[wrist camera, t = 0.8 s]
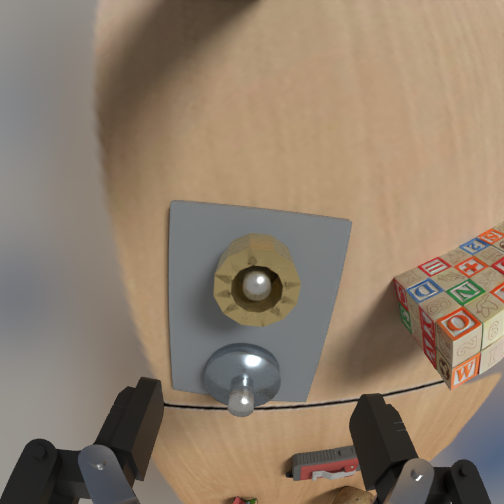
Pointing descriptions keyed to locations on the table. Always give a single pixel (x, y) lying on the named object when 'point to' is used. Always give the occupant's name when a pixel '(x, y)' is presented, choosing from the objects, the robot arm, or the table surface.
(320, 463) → the walkie-talkie
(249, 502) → the geometric puzzle
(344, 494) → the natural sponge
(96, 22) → the table surface
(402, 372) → the table surface
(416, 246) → the table surface
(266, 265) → the brass ring
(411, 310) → the stack of blocks
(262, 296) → the silver knob
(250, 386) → the hub
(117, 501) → the robot arm
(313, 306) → the board
